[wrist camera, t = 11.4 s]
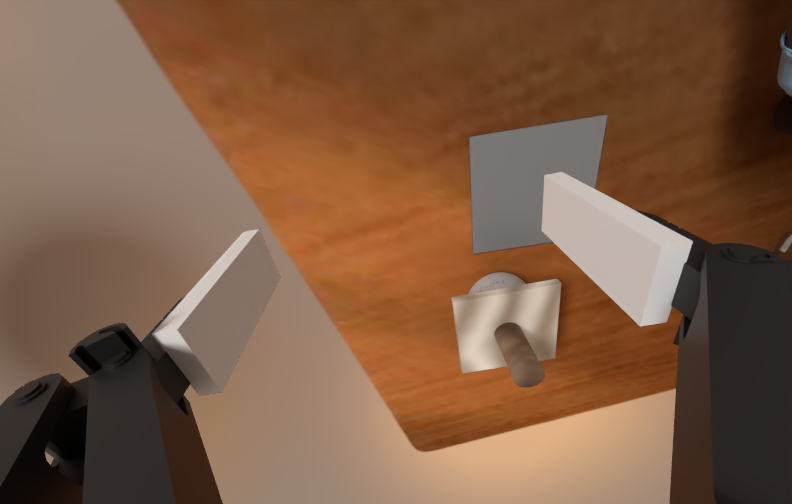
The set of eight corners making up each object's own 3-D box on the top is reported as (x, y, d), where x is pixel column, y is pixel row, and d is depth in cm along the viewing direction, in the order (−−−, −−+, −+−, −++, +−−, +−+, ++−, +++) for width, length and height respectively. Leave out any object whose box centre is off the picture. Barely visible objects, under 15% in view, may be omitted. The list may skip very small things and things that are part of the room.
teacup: (488, 253, 51) (505, 281, 44) (537, 279, 54) (561, 309, 47) (440, 312, 56) (449, 345, 49) (488, 333, 59) (502, 367, 52)
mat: (605, 114, 41) (607, 114, 41) (585, 235, 50) (586, 236, 49) (469, 136, 42) (469, 137, 41) (472, 252, 50) (473, 253, 50)
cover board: (557, 278, 44) (596, 323, 36) (551, 352, 51) (582, 403, 43) (451, 297, 45) (466, 345, 37) (460, 367, 52) (475, 420, 44)
